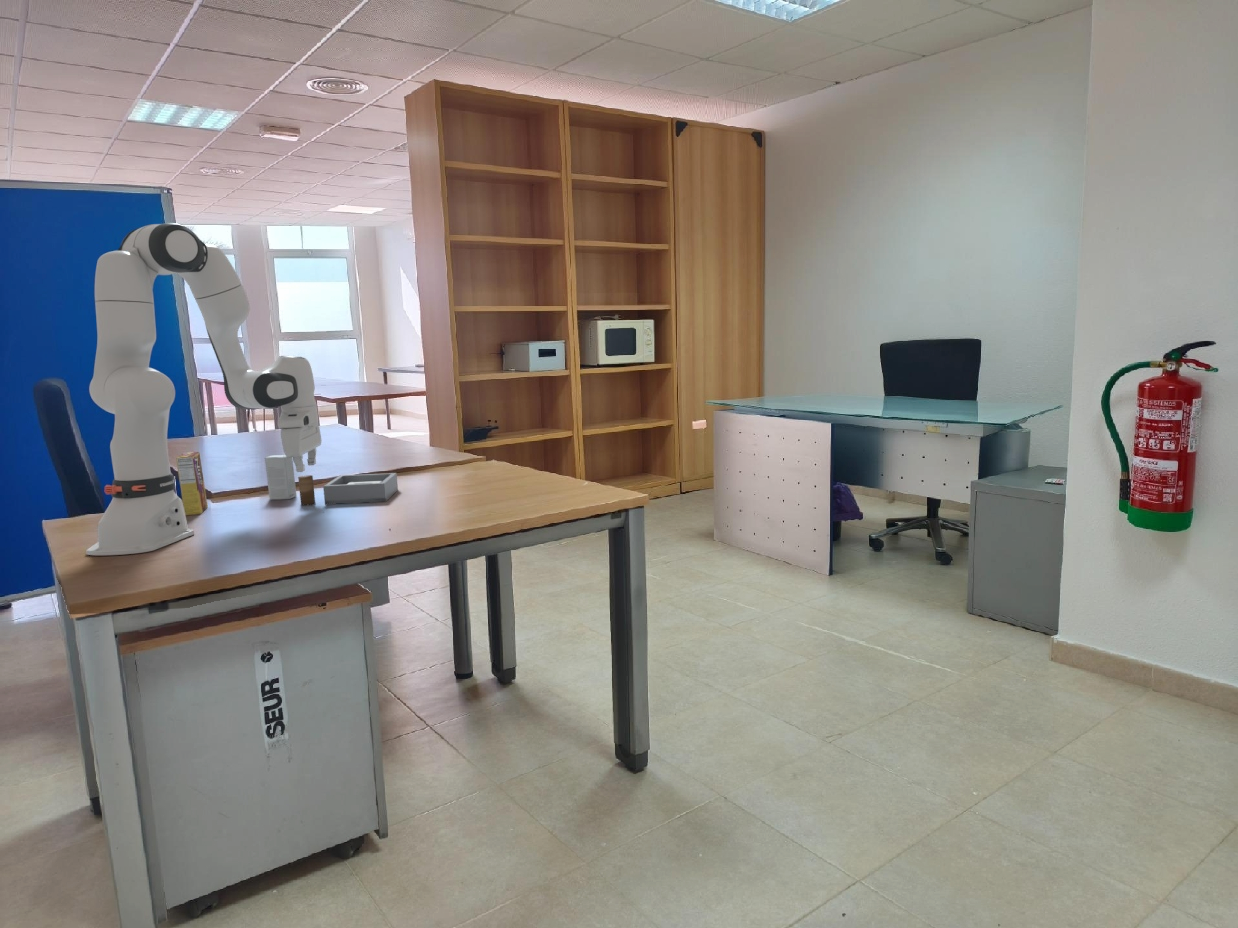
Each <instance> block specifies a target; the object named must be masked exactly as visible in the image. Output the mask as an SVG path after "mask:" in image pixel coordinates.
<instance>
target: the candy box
mask: <svg viewBox="0 0 1238 928" xmlns="http://www.w3.org/2000/svg"><path fill="white" fill-rule="evenodd" d="M175 461H176V466H177V474H178V480H179V486H180V495H181V500H182V502H183V507H184V511H185V516H193V515H194V516H195V515H202V514H203V512H205V511H206V510H207V509H208V499H207V494H206V493H207V492H206V486H205V481H204V473H203V468H202V461H201V456H200V451H193V452H191V451H190V452H183V453H182V454H181V455H178V456H177V457H176V458H175Z"/></svg>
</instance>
